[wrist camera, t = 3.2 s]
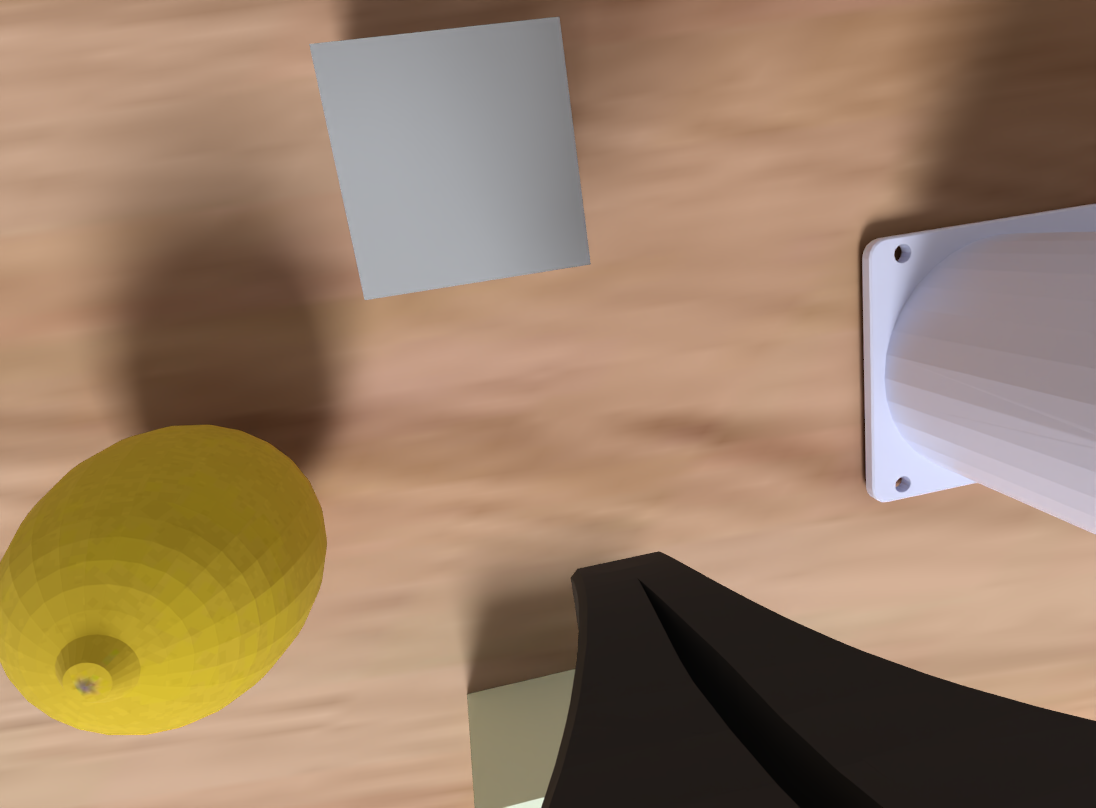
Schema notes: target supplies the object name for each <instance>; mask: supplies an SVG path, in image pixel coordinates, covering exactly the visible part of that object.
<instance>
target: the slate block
mask: <svg viewBox="0 0 1096 808" xmlns="http://www.w3.org/2000/svg"><path fill="white" fill-rule="evenodd" d="M309 45H310V50H311V54H312V59H313V64H314V68H315V73H316V77H317V82H318V87H319V91H320V96H321V100H322V105H323V110H324V114H325V119H326V124H327V128H328V133H329V137H330V142H331V147H332V151H333V156H334V161H335V165H336V170H337V174H338V179H339V184H340V188H341V193H342V197H343V202H344V207H345V211H346V216H347V221H348V225H349V230H350V234H351V239H352V244H353V248H354V253H355V258H356V262H357V267H358V271H359V276H360V281H361V285H362V290H363V294H364V299H365V300H368V299H375V298H381V297H387V296H394V295H400V294H406V293H413V292H419V291H425V290H431V289H438V288H444V287H450V286H457V285H463V284H469V283H476V282H482V281H488V280H495V279H501V278H507V277H514V276H520V275H526V274H532V273H539V272H545V271H551V270H558V269H564V268H570V267H577V266H583V265H589V264H591V263H590V255H589V247H588V240H587V232H586V224H585V216H584V208H583V200H582V192H581V184H580V176H579V168H578V160H577V152H576V144H575V136H574V128H573V120H572V113H571V105H570V97H569V89H568V81H567V73H566V65H565V57H564V49H563V41H562V33H561V25H560V17H551V18H542V19H533V20H524V21H515V22H506V23H497V24H488V25H479V26H470V27H461V28H452V29H442V30H433V31H424V32H415V33H406V34H397V35H388V36H379V37H370V38H361V39H352V40H343V41H334V42H325V43H316V44H309Z"/></svg>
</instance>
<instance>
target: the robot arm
mask: <svg viewBox="0 0 1096 808" xmlns="http://www.w3.org/2000/svg"><path fill="white" fill-rule="evenodd" d="M898 246H900V247H901V251H902V253H901V257H900V258H899V260H898V261H896V260H895V257H894V253H895V249H896V248H897V247H898ZM862 275H863V333H864V391H865V449H866V488H867V492H868V494H869V495H870V496H871V497H873V498H875V499H876V500H878V501H881V502H889V501H894V500H899V499H903V498H908V497H913V496H917V495H922V494H926V493H931V492H936V491H940V490H945V489H950V488H954V487H959V486H964V485H968V484H973V483H980V484H982V485H984V486H986V487H989V488H991V489H993V490H996V491H998V492H1000V493H1002V494H1005V495H1007V496H1009V497H1011V498H1014V499H1016V500H1018V501H1021V502H1023V503H1025V504H1027V505H1030V506H1032V507H1034V508H1037V509H1039V510H1041V511H1043V512H1046V513H1048V514H1050V515H1052V516H1055V517H1057V518H1059V519H1062V520H1064V521H1066V522H1068V523H1071V524H1073V525H1075V526H1078V527H1080V528H1082V529H1084V530H1087V531H1089V532H1091V533H1094V534H1096V203H1094V204H1088V205H1082V206H1076V207H1069V208H1063V209H1057V210H1051V211H1044V212H1038V213H1032V214H1026V215H1019V216H1013V217H1007V218H1001V219H994V220H988V221H982V222H976V223H969V224H963V225H957V226H951V227H944V228H938V229H932V230H925V231H919V232H913V233H907V234H900V235H894V236H888V237H882V238H877V239H874V240H872V241H871V242H870V243H869V244H868V245H867V246H866V248H865V249H864V251H863V257H862ZM901 477H902V481H901V483H900V485H899V486H897V487H895V485H896V481H897V480H898V479H899V478H901ZM571 582H572V589H573V595H574V602H575V609H576V616H577V622H578V629H579V635H578V653H577V662H576V668H575V675H574V681H573V688H572V694H571V700H570V706H569V710H568V715H567V720H566V724H565V728H564V733H563V737H562V740H561V744H560V748H559V752H558V755H557V759H556V763H555V766H554V770H553V773H552V776H551V779H550V782H549V785H548V788H547V791H546V794H545V797H544V800H543V803H542V806H541V808H1096V721H1093V720H1089V719H1085V718H1081V717H1077V716H1073V715H1068V714H1064V713H1060V712H1056V711H1052V710H1048V709H1044V708H1040V707H1036V706H1033V705H1029V704H1026V703H1022V702H1019V701H1015V700H1012V699H1008V698H1004V697H1001V696H997V695H994V694H990V693H987V692H983V691H980V690H976V689H973V688H969V687H966V686H962V685H959V684H956V683H953V682H950V681H947V680H943V679H940V678H937V677H934V676H931V675H928V674H925V673H922V672H919V671H916V670H914V669H911V668H908V667H905V666H903V665H900V664H897V663H894V662H891V661H889V660H886V659H883V658H880V657H878V656H875V655H872V654H869V653H866V652H864V651H861V650H859V649H856V648H854V647H851V646H849V645H846V644H844V643H842V642H839V641H837V640H834V639H832V638H830V637H828V636H825V635H823V634H821V633H819V632H816V631H814V630H812V629H810V628H807V627H805V626H803V625H801V624H798V623H796V622H794V621H792V620H790V619H788V618H786V617H783V616H781V615H779V614H777V613H775V612H773V611H771V610H769V609H767V608H765V607H763V606H761V605H759V604H757V603H755V602H753V601H751V600H749V599H747V598H745V597H744V596H742V595H740V594H738V593H736V592H734V591H732V590H730V589H728V588H727V587H725V586H723V585H721V584H719V583H717V582H715V581H714V580H712V579H710V578H708V577H706V576H705V575H703V574H701V573H699V572H697V571H695V570H694V569H692V568H690V567H688V566H686V565H685V564H683V563H681V562H679V561H677V560H675V559H674V558H672V557H670V556H668V555H666V554H664V553H661V552H654V553H650V554H645V555H640V556H636V557H631V558H626V559H622V560H617V561H612V562H608V563H603V564H598V565H594V566H589V567H584V568H580V569H577V570H576V572H575V573H574V574H573V576H572V577H571Z"/></svg>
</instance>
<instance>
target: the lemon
mask: <svg viewBox="0 0 1096 808" xmlns="http://www.w3.org/2000/svg"><path fill="white" fill-rule="evenodd" d="M326 547H327V538H326V531H325V525H324V519H323V512H322V508H321V505H320V503H319V501H318V499H317V497H316V495H315V492H314V490H313V488H312V486H311V484H310V482H309V480H308V479H307V478H306V477H305V475H304V474H303V473H302V472H301V470H300V469H299V468H298V467H297V466H296V464H295V463H294V462H293V461H292V460H291V459H290V458H289V457H287V456H286V455H285V454H283V453H282V452H281V451H279V450H278V449H277V448H275V447H274V446H273V445H271V444H270V443H268V442H266V441H264V440H261V439H259V438H257V437H254V436H252V435H250V434H248V433H245V432H243V431H241V430H235V429H230V428H225V427H220V426H215V425H183V426H169V427H164V428H160V429H157V430H153V431H150V432H146V433H142V434H139V435H135V436H132V437H129V438H126V439H123V440H121V441H119V442H117V443H115V444H113V445H112V446H110V447H108V448H106V449H105V450H103V451H101V452H99V453H97V454H96V455H94V456H92V457H90V458H88V459H87V460H85V461H83V462H81V463H80V464H78V465H77V466H76V467H74V468H73V469H72V470H70V471H69V472H68V473H67V474H66V475H65V476H64V477H63V478H62V479H61V480H60V481H59V482H58V483H57V484H56V485H55V486H54V487H53V488H52V489H51V490H50V491H49V492H48V493H47V494H46V495H45V496H44V497H43V498H42V499H41V500H40V501H39V502H38V503H37V504H36V505H35V506H34V507H33V508H32V510H31V511H30V512H29V513H28V515H27V516H26V517H25V519H24V520H23V522H22V523H21V525H20V527H19V528H18V530H17V532H16V534H15V536H14V538H13V540H12V542H11V543H10V545H9V547H8V549H7V551H6V553H5V555H4V557H3V558H2V560H1V562H0V662H1V664H2V667H3V669H4V671H5V673H6V675H7V676H8V678H9V680H10V681H11V682H12V683H13V684H14V686H15V687H16V688H17V689H18V690H19V691H20V693H21V694H22V695H23V696H24V697H25V698H26V699H27V701H28V702H30V703H31V704H33V705H34V706H35V707H37V708H38V709H40V710H41V711H42V712H44V713H45V714H47V715H48V716H50V717H51V718H53V719H55V720H58V721H60V722H63V723H65V724H68V725H70V726H72V727H75V728H77V729H81V730H86V731H91V732H96V733H101V734H106V735H148V734H152V733H157V732H162V731H167V730H171V729H176V728H180V727H182V726H185V725H188V724H190V723H192V722H195V721H197V720H199V719H201V718H204V717H206V716H208V715H211V714H213V713H215V712H217V711H219V710H221V709H222V708H224V707H225V706H227V705H228V704H230V703H231V702H232V701H234V700H235V699H236V698H238V697H239V696H240V695H242V694H243V693H244V692H246V691H247V690H248V689H250V688H251V687H252V686H254V685H255V684H256V683H257V682H258V681H259V680H260V679H262V678H263V677H264V676H265V675H266V673H267V672H268V671H269V670H270V669H271V668H272V667H273V665H274V664H275V663H276V662H277V660H278V659H279V658H280V657H281V656H282V654H283V653H284V652H285V651H286V649H287V648H288V647H289V646H290V644H291V643H292V642H293V640H294V639H295V638H296V636H297V635H298V634H299V632H300V630H301V629H302V627H303V625H304V623H305V621H306V619H307V617H308V614H309V612H310V610H311V607H312V605H313V603H314V601H315V598H316V596H317V594H318V591H319V589H320V586H321V582H322V577H323V570H324V562H325V555H326Z"/></svg>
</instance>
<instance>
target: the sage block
mask: <svg viewBox="0 0 1096 808" xmlns="http://www.w3.org/2000/svg"><path fill="white" fill-rule="evenodd" d="M574 675H575V669H573V670H569V671H565V672H560V673H556V674H552V675H547V676H543V677H539V678H535V679H530V680H526V681H522V682H517V683H513V684H509V685H505V686H500V687H496V688H492V689H487V690H483V691H479V692H475V693H470V694H467V700H468V715H469V730H470V745H471V760H472V775H473V790H474V805H475V808H541V806H542V803H543V800H544V797H545V794H546V791H547V788H548V785H549V782H550V779H551V776H552V773H553V770H554V766H555V763H556V759H557V755H558V752H559V748H560V744H561V740H562V737H563V733H564V728H565V724H566V720H567V715H568V710H569V706H570V700H571V694H572V688H573V681H574Z"/></svg>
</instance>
